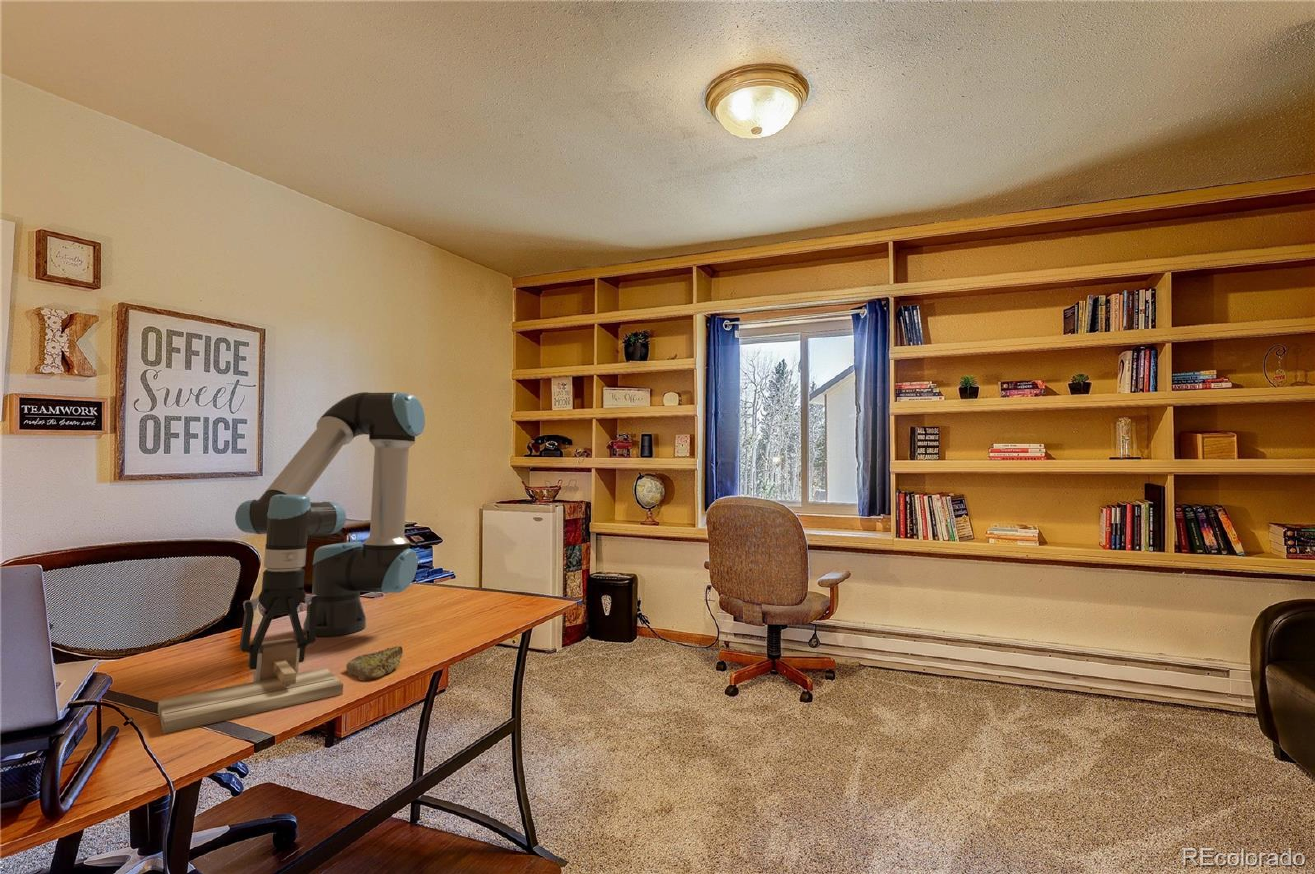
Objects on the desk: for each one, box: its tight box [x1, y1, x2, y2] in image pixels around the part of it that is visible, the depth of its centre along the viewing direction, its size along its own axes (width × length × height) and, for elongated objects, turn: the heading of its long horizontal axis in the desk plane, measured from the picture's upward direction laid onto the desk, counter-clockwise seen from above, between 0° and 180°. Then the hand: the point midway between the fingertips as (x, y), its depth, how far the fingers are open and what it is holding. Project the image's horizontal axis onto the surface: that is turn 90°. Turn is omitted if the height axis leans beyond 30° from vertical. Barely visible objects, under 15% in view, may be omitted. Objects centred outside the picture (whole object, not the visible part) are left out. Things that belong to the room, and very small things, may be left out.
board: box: [157, 667, 344, 735], centre depth 118 cm, size 12×28×2 cm, turn 133°
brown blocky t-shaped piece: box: [259, 637, 297, 687], centre depth 125 cm, size 15×6×8 cm, turn 42°
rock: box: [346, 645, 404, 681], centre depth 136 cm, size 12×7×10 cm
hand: (275, 681), depth 128 cm, fingers closed on brown blocky t-shaped piece, 6 cm apart
